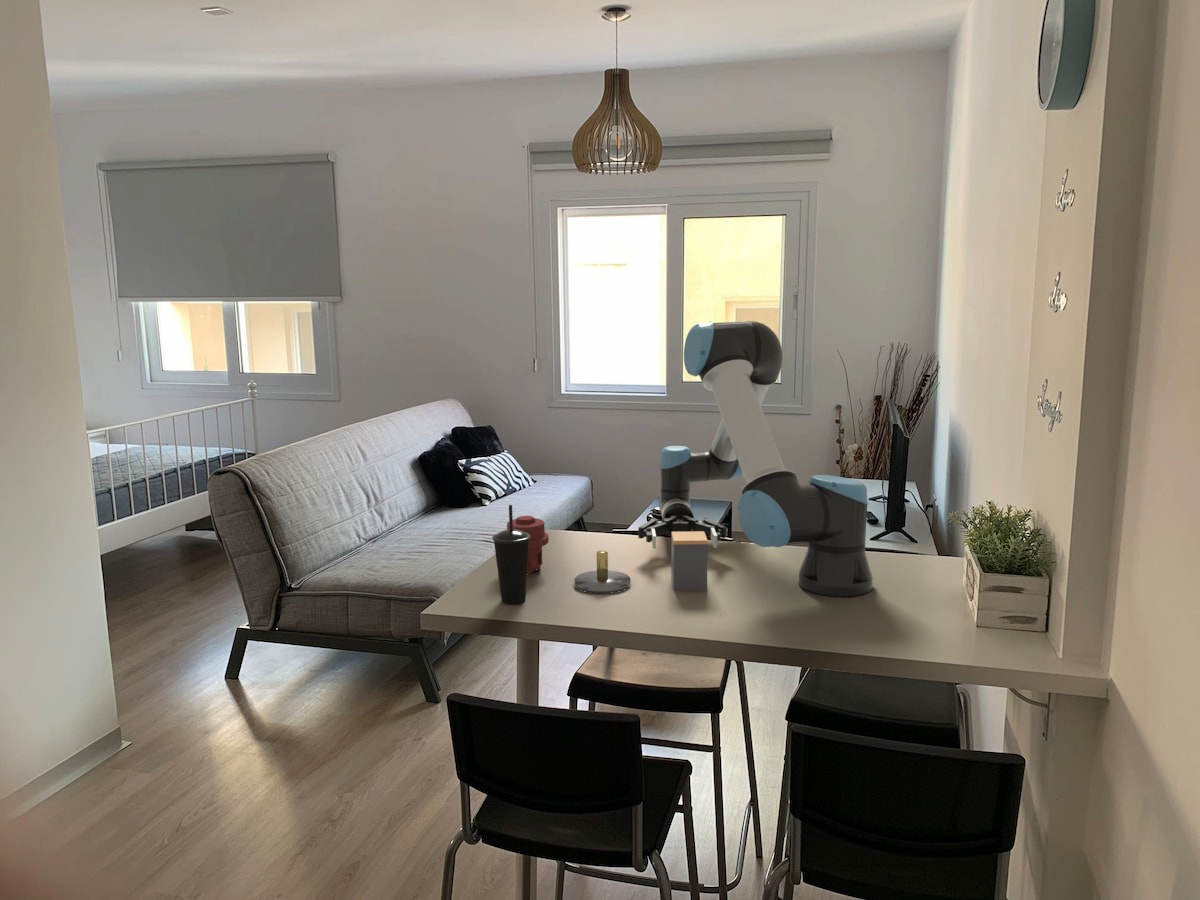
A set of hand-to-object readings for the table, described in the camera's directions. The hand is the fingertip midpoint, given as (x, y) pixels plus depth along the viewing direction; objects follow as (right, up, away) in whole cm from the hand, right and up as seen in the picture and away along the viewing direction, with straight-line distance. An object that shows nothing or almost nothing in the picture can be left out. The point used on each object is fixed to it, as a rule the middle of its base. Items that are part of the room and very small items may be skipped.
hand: (685, 542), depth 201 cm
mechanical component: (-35, -7, +2) cm, 36 cm away
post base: (-18, -8, -7) cm, 22 cm away
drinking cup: (-37, -10, -17) cm, 42 cm away
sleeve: (0, -8, -8) cm, 12 cm away
